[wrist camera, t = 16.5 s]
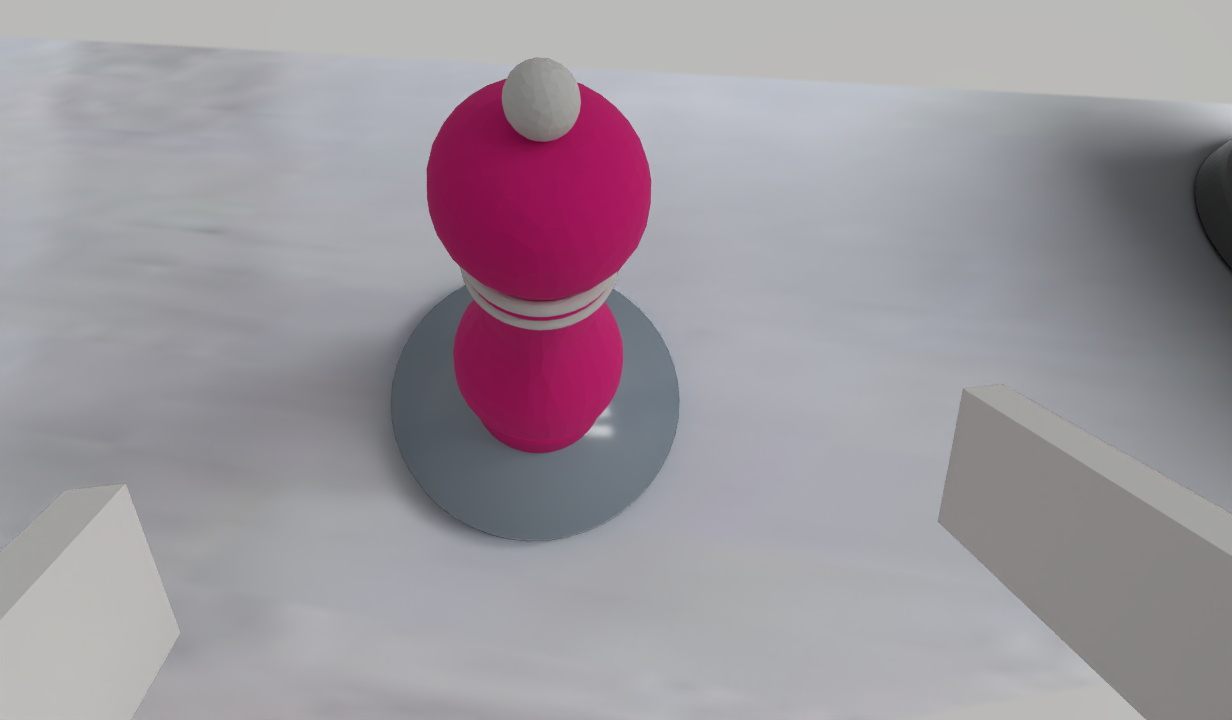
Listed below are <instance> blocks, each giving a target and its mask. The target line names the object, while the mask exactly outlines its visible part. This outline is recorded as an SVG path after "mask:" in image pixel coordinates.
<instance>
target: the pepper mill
mask: <svg viewBox="0 0 1232 720" xmlns="http://www.w3.org/2000/svg"><path fill="white" fill-rule="evenodd" d="M427 200H428V206H429V213H430V216H431V219H432V222H433V225H434V228H435V230H436V233H437V236H438V237H439V239H440V240H441V242H442V243H443V245H444V247H445V248H446V250H447V251H448V253H449V254H450V256H451V257H452V259H453V260H454V261H455V262H456V263H457V264H458V265H459V266H460V268H461V272H462V276H463V280H464V282H465V285H466V287H467V289H468V291H469V292H470V294H471V296H472V297H473V301H472V302H471V303H470V304H469V305H468V307H467V309H466V310H465V312H464V314H463V316H462V318H461V321H460V323H459V326H458V329H457V332H456V335H455V340H454V348H453V358H454V370H455V375H456V381H457V384H458V387H459V389H460V392H461V394H462V396H463V398H464V399H465V401H466V403H467V404H468V406H469V407H470V408H471V409H472V410H473V412H474V413H475V414H476V415H477V416H478V417H479V418H480V419H481V421H482V423H483V425H484V426H485V427H486V429H487V430H488V431H489V432H490V433H491V435H493V436H494V437H495V438H496V439H497V440H499V441H500V442H502V443H504V444H505V445H507V446H509V447H511V448H514V449H517V450H520V451H523V452H528V453H548V452H553V451H557V450H561V449H563V448H566V447H568V446H570V445H572V444H574V443H575V442H576V441H578V440H579V439H581V438H582V437H583V436H584V435H585V434H586V433H587V432H588V431H589V430H590V428H591V427H592V426H593V424H594V423H595V421H596V419H597V418H598V417H599V416H600V415H601V414H602V413H603V412H604V410H605V409H606V408H607V407H608V405H609V404H610V402H611V400H612V399H613V397H614V395H615V393H616V391H617V388H618V386H619V383H620V378H621V373H622V367H623V341H622V338H621V334H620V331H619V328H618V325H617V322H616V320H615V318H614V315H613V313H612V311H611V310H610V308H609V307H608V305H607V304H606V302H605V300H606V299H607V297H608V296H609V294H610V293H611V291H612V289H613V286H614V284H615V281H616V278H617V274H618V271H619V269H620V268H621V267H622V266H623V264H624V263H625V262H626V261H627V259H628V258H629V257H630V256H631V254H632V253H633V252H634V251H635V249H636V248H637V246H638V244H639V242H640V239H641V237H642V235H643V232H644V230H645V228H646V225H647V220H648V214H649V209H650V203H651V177H650V171H649V165H648V162H647V158H646V155H645V153H644V150H643V147H642V144H641V141H640V139H639V137H638V135H637V134H636V132H635V131H634V129H633V128H632V126H631V124H630V123H629V121H628V120H627V119H626V118H625V117H624V116H623V114H622V113H621V112H620V111H619V110H618V109H617V108H616V107H615V106H614V105H613V104H612V103H610V102H609V101H608V100H607V99H605V98H604V97H603V96H602V95H600V94H599V93H597V92H595V91H593V90H592V89H590V88H588V87H586V86H584V85H583V84H580V83H577V82H576V81H575V79H574V77H573V75H572V74H571V73H570V72H569V71H568V70H567V69H566V68H565V67H564V66H563V65H562V64H560V63H557V62H555V61H553V60H550V59H548V58H533V59H529V60H526V61H524V62H522V63H520V64H519V65H517V66H516V67H515V68H514V69H513V70H512V71H511V72H510V74H509V76H508V78H507V79H504V80H501V81H499V82H496V83H493V84H490V85H487V86H485V87H484V88H482V89H480V90H479V91H477V92H475V93H473V94H472V95H470V96H469V97H468V98H467V99H466V100H464V101H463V102H462V103H461V104H459V105H458V106H457V107H456V108H455V110H454V111H453V112H452V113H451V114H450V116H449V117H448V118H447V119H446V121H445V122H444V124H443V125H442V127H441V129H440V131H439V133H438V135H437V137H436V139H435V141H434V142H433V145H432V149H431V153H430V157H429V162H428V166H427Z"/></svg>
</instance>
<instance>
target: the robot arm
mask: <svg viewBox="0 0 1232 720" xmlns="http://www.w3.org/2000/svg"><path fill="white" fill-rule="evenodd" d="M1195 194H1196V203H1197V208H1198V212H1199V215H1200V218H1201V221H1202V223H1203V226H1204V228H1205V230H1206V232H1207V234H1208V236H1209V238H1210V239H1211V241H1212V243H1213V245H1214V246H1215V248H1216V249H1217V251H1218V252H1219V253H1220V255H1221V256H1222V257H1223V259H1224V260H1225V261H1226V262H1227V264H1228V265H1229V266H1230V267H1231V268H1232V139H1231V140H1229V141H1228V142H1226V143H1225V144H1224V145H1222V146H1221V147H1220V148H1218V149H1217V150H1215V151H1214V152H1213V153H1211V154H1210V155H1209V156H1208V157H1207V158H1206V160H1205V161H1204V162H1203V164H1202V165H1201V167H1200V170H1199V172H1198V175H1197V179H1196V187H1195ZM938 522H939V523H940V524H941V525H942V526H943V527H944V528H945V529H946V530H947V531H948V532H949V533H950V534H951V535H953V536H954V537H955V538H956V539H957V540H958V541H959V542H960V543H961V544H962V545H963V546H964V547H965V548H966V549H967V550H968V551H969V552H970V553H971V554H973V555H974V556H975V557H976V558H977V559H978V560H979V561H980V562H981V563H982V564H983V565H984V566H985V567H986V568H987V569H988V570H989V571H990V572H991V573H993V574H994V575H995V576H996V577H997V578H998V579H999V580H1000V581H1001V582H1002V583H1003V584H1004V585H1005V586H1006V587H1007V588H1008V589H1009V590H1010V591H1011V592H1013V593H1014V594H1015V595H1016V596H1017V597H1018V598H1019V599H1020V600H1021V601H1022V602H1023V603H1024V604H1025V605H1026V606H1027V607H1028V608H1029V609H1030V610H1031V611H1032V612H1034V613H1035V614H1036V615H1037V616H1038V617H1039V618H1040V619H1041V620H1042V621H1043V622H1044V623H1045V624H1046V625H1047V626H1048V627H1049V628H1050V629H1051V630H1052V631H1054V632H1055V633H1056V634H1057V635H1058V636H1059V637H1060V638H1061V639H1062V640H1063V641H1064V642H1065V643H1066V644H1067V645H1068V646H1069V647H1070V648H1071V649H1072V650H1074V651H1075V652H1076V653H1077V654H1078V655H1079V656H1080V657H1081V658H1082V659H1083V660H1084V661H1085V662H1086V663H1087V664H1088V665H1089V666H1090V667H1091V668H1092V669H1094V670H1095V671H1096V672H1097V673H1098V674H1099V675H1100V676H1101V677H1102V678H1103V679H1104V680H1105V681H1106V682H1107V683H1108V684H1109V685H1110V686H1111V687H1112V688H1114V689H1115V690H1116V691H1117V692H1118V693H1119V694H1120V695H1121V696H1122V697H1123V698H1124V699H1125V700H1126V701H1127V702H1128V703H1129V704H1130V705H1131V706H1132V707H1134V708H1135V709H1136V710H1137V711H1138V712H1139V713H1140V714H1141V715H1142V716H1143V717H1144V718H1145V719H1147V720H1232V514H1231V513H1229V512H1228V511H1226V510H1224V509H1222V508H1220V507H1219V506H1217V505H1215V504H1213V503H1212V502H1210V501H1208V500H1206V499H1205V498H1203V497H1201V496H1199V495H1198V494H1196V493H1194V492H1192V491H1190V490H1189V489H1187V488H1185V487H1183V486H1182V485H1180V484H1178V483H1176V482H1175V481H1173V480H1171V479H1169V478H1167V477H1166V476H1164V475H1162V474H1160V473H1159V472H1157V471H1155V470H1153V469H1152V468H1150V467H1148V466H1146V465H1145V464H1143V463H1141V462H1139V461H1137V460H1136V459H1134V458H1132V457H1130V456H1129V455H1127V454H1125V453H1123V452H1122V451H1120V450H1118V449H1116V448H1115V447H1113V446H1111V445H1109V444H1107V443H1106V442H1104V441H1102V440H1100V439H1099V438H1097V437H1095V436H1093V435H1092V434H1090V433H1088V432H1086V431H1084V430H1083V429H1081V428H1079V427H1077V426H1076V425H1074V424H1072V423H1070V422H1069V421H1067V420H1065V419H1063V418H1062V417H1060V416H1058V415H1056V414H1054V413H1053V412H1051V411H1049V410H1047V409H1046V408H1044V407H1042V406H1040V405H1039V404H1037V403H1035V402H1033V401H1032V400H1030V399H1028V398H1026V397H1024V396H1023V395H1021V394H1019V393H1017V392H1016V391H1014V390H1012V389H1010V388H1009V387H1007V386H1005V385H1003V384H1000V385H992V386H983V387H974V388H965V389H963V392H962V397H961V403H960V408H959V413H958V418H957V424H956V429H955V434H954V440H953V445H952V450H951V455H950V461H949V466H948V471H947V476H946V482H945V487H944V492H943V498H942V503H941V508H940V513H939V519H938ZM179 634H180V631H179V628H178V625H177V622H176V620H175V617H174V614H173V611H172V609H171V606H170V603H169V600H168V598H167V595H166V592H165V590H164V587H163V584H162V581H161V579H160V576H159V573H158V570H157V568H156V565H155V562H154V559H153V557H152V554H151V551H150V548H149V546H148V543H147V540H146V538H145V535H144V532H143V529H142V527H141V524H140V521H139V518H138V516H137V513H136V510H135V507H134V505H133V502H132V499H131V497H130V494H129V491H128V488H127V486H126V483H123V484H115V485H106V486H97V487H88V488H79V489H70V490H65V491H64V492H63V493H62V494H61V495H60V496H58V497H57V498H56V499H55V500H54V501H53V502H52V503H51V504H50V505H49V506H48V507H47V508H46V509H45V510H44V511H43V512H42V513H41V514H40V515H39V516H37V517H36V518H35V519H34V520H33V521H32V522H31V523H30V524H29V525H28V526H27V527H26V528H25V529H24V530H23V531H22V532H21V533H20V534H19V535H17V536H16V537H15V538H14V539H13V540H12V541H11V542H10V543H9V544H8V545H7V546H6V547H5V548H4V549H3V550H2V551H1V552H0V720H132V718H133V716H134V714H135V713H136V711H137V709H138V707H139V706H140V704H141V702H142V700H143V698H144V697H145V695H146V693H147V691H148V690H149V688H150V686H151V684H152V682H153V681H154V679H155V677H156V675H157V674H158V672H159V670H160V668H161V666H162V665H163V663H164V661H165V659H166V658H167V656H168V654H169V652H170V650H171V649H172V647H173V645H174V643H175V641H176V640H177V638H178V636H179Z"/></svg>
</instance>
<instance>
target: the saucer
mask: <svg viewBox="0 0 1232 720" xmlns="http://www.w3.org/2000/svg"><path fill="white" fill-rule="evenodd" d="M472 301H473V297H472V296H471V294H470V292H469V291H468V289H467V287H466V286H463V287H462V288H460V289H459V290H457V291H455V292H454V293H452V294H451V295H449V296H448V297H446V298H445V299H444V300H443V301H441V302H440V303H439V304H438V305H436V306H435V307H434V308H433V309H432V310H431V311H430V312H429V313H428V314H427V315H426V317H425V318H424V319H423V320H422V321H421V322H420V324H419V325H418V326H417V328H416V329H415V330H414V332H413V333H412V335H411V336H410V338H409V340H408V342H407V344H406V345H405V347H404V349H403V351H402V354H401V357H400V359H399V362H398V364H397V367H396V372H395V376H394V380H393V385H392V396H391V411H392V422H393V427H394V432H395V438H396V440H397V443H398V446H399V449H400V452H401V454H402V457H403V458H404V460H405V462H406V464H407V466H408V468H409V470H410V472H411V473H412V475H413V476H414V477H415V479H416V480H417V481H418V483H419V484H420V485H421V487H422V488H423V489H424V491H425V492H426V493H427V494H428V495H429V496H430V497H431V498H432V499H433V500H434V501H435V502H436V503H437V504H438V505H439V506H440V507H441V508H442V509H444V510H445V511H446V512H448V513H449V514H450V515H452V516H453V517H454V518H456V519H458V520H459V521H461V522H463V523H465V524H467V525H468V526H470V527H472V528H475V529H477V530H480V531H482V532H485V533H487V534H490V535H494V536H498V537H503V538H507V539H513V540H523V541H548V540H555V539H561V538H567V537H571V536H574V535H577V534H581V533H584V532H587V531H589V530H591V529H594V528H596V527H598V526H600V525H602V524H604V523H606V522H608V521H609V520H611V519H612V518H614V517H616V516H617V515H619V514H620V513H622V512H623V511H624V510H625V509H626V508H628V507H629V506H630V505H631V504H632V503H634V502H635V501H636V500H637V499H638V497H639V496H640V495H641V494H642V493H643V492H644V491H645V490H646V489H647V488H648V486H649V485H650V483H651V482H652V481H653V479H654V478H655V476H656V475H657V473H658V472H659V470H660V469H661V467H662V465H663V463H664V461H665V459H666V457H667V455H668V453H669V451H670V448H671V445H672V442H673V439H674V437H675V433H676V428H677V422H678V417H679V390H678V381H677V377H676V372H675V368H674V364H673V362H672V359H671V356H670V354H669V351H668V349H667V347H666V345H665V343H664V341H663V339H662V337H661V336H660V334H659V333H658V331H657V330H656V328H655V327H654V326H653V324H652V323H651V321H650V320H649V319H648V318H647V317H646V316H645V315H644V314H643V313H642V311H641V310H640V309H639V308H637V307H636V306H635V305H634V304H633V303H632V302H631V301H629V300H628V299H627V298H626V297H624V296H623V295H621V294H620V293H618V292H617V291H615V290H614V289H612V291H611V293H610V294H609V296H608V297H607V299H606V300H605V302H606V304H607V305H608V307H609V308H610V310H611V311H612V313H613V315H614V318H615V320H616V322H617V325H618V328H619V331H620V334H621V338H622V341H623V367H622V373H621V378H620V383H619V386H618V388H617V391H616V393H615V395H614V397H613V399H612V400H611V402H610V404H609V405H608V407H607V408H606V409H605V410H604V412H603V413H602V414H601V415H600V416H599V417H598V418H597V419H596V421H595V423H594V424H593V426H592V427H591V428H590V430H589V431H588V432H587V433H586V434H585V435H584V436H583V437H582V438H581V439H579V440H578V441H576V442H575V443H574V444H572V445H570V446H568V447H566V448H563V449H561V450H557V451H553V452H548V453H528V452H523V451H520V450H517V449H514V448H511V447H509V446H507V445H505V444H504V443H502V442H500V441H499V440H497V439H496V438H495V437H494V436H493V435H491V433H490V432H489V431H488V430H487V429H486V427H485V426H484V425H483V423H482V421H481V419H480V418H479V417H478V416H477V415H476V414H475V413H474V412H473V410H472V409H471V408H470V407H469V406H468V404H467V403H466V401H465V399H464V398H463V396H462V394H461V392H460V389H459V387H458V384H457V381H456V375H455V370H454V358H453V348H454V340H455V335H456V332H457V329H458V326H459V323H460V321H461V318H462V316H463V314H464V312H465V310H466V309H467V307H468V305H469V304H470V303H471V302H472Z"/></svg>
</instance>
